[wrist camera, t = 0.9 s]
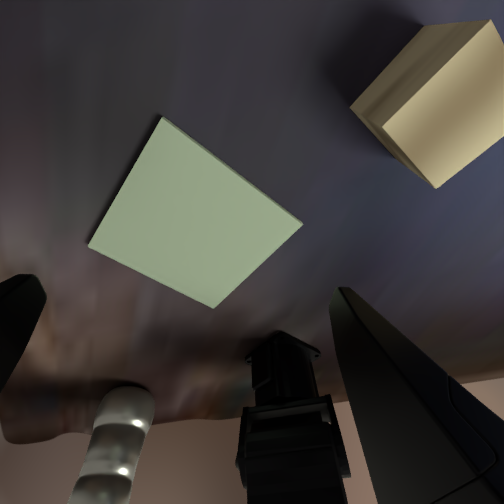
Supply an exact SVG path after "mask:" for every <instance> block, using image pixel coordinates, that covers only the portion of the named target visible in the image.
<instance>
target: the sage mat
mask: <svg viewBox="0 0 504 504" xmlns="http://www.w3.org/2000/svg"><path fill="white" fill-rule="evenodd" d="M302 225H303V224H302V222H301V221H300V220H299V219H297V218H296V217H295V216H293V215H292V214H291V213H289V212H288V211H287V210H285V209H284V208H283V207H282V206H280V205H279V204H278V203H276V202H275V201H274V200H272V199H271V198H270V197H268V196H267V195H266V194H265V193H263V192H262V191H261V190H259V189H258V188H257V187H255V186H254V185H253V184H251V183H250V182H249V181H247V180H246V179H245V178H244V177H242V176H241V175H240V174H238V173H237V172H236V171H234V170H233V169H232V168H230V167H229V166H228V165H227V164H225V163H224V162H223V161H221V160H220V159H219V158H217V157H216V156H215V155H213V154H212V153H211V152H210V151H208V150H207V149H206V148H204V147H203V146H202V145H200V144H199V143H198V142H196V141H195V140H194V139H192V138H191V137H190V136H189V135H187V134H186V133H185V132H183V131H182V130H181V129H179V128H178V127H177V126H175V125H174V124H173V123H172V122H170V121H169V120H168V119H166V118H165V117H164V116H163V117H162V118H161V120H160V122H159V123H158V125H157V127H156V128H155V130H154V132H153V134H152V135H151V137H150V139H149V141H148V142H147V144H146V146H145V148H144V149H143V151H142V153H141V155H140V156H139V158H138V160H137V161H136V163H135V165H134V167H133V168H132V170H131V172H130V174H129V175H128V177H127V179H126V181H125V182H124V184H123V186H122V188H121V189H120V191H119V193H118V194H117V196H116V198H115V200H114V201H113V203H112V205H111V207H110V208H109V210H108V212H107V214H106V215H105V217H104V219H103V220H102V222H101V224H100V226H99V227H98V229H97V231H96V233H95V234H94V236H93V238H92V240H91V241H90V243H89V245H88V247H89V248H91V249H93V250H96V251H98V252H100V253H102V254H104V255H106V256H108V257H110V258H112V259H114V260H116V261H118V262H120V263H122V264H124V265H126V266H128V267H130V268H132V269H134V270H136V271H138V272H140V273H142V274H144V275H146V276H148V277H150V278H152V279H154V280H156V281H158V282H160V283H162V284H164V285H166V286H168V287H170V288H172V289H174V290H176V291H178V292H180V293H182V294H185V295H187V296H189V297H191V298H193V299H195V300H197V301H199V302H201V303H203V304H205V305H207V306H209V307H211V308H213V309H214V308H215V307H216V306H217V305H218V304H219V303H220V302H221V301H222V300H223V299H225V298H226V297H227V296H228V295H229V294H230V293H231V292H232V291H233V290H234V289H235V288H236V287H237V286H238V285H239V284H240V283H241V282H243V281H244V280H245V279H246V278H247V277H248V276H249V275H250V274H251V273H252V272H253V271H254V270H255V269H256V268H257V267H258V266H260V265H261V264H262V263H263V262H264V261H265V260H266V259H267V258H268V257H269V256H270V255H271V254H272V253H273V252H274V251H275V250H276V249H278V248H279V247H280V246H281V245H282V244H283V243H284V242H285V241H286V240H287V239H288V238H289V237H290V236H291V235H292V234H293V233H295V232H296V231H297V230H298V229H299V228H300V227H301V226H302Z"/></svg>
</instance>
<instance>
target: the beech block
mask: <svg viewBox="0 0 504 504" xmlns="http://www.w3.org/2000/svg"><path fill="white" fill-rule="evenodd" d="M349 108H350V109H351V110H352V111H353V112H354V113H355V114H356V115H357V116H358V118H359V119H360V120H361V121H362V122H363V123H364V124H365V125H366V126H367V128H368V129H369V130H370V131H371V132H372V133H373V134H374V135H375V136H376V138H377V139H378V140H379V141H380V142H381V143H382V144H383V145H384V146H385V148H386V149H387V150H388V151H389V152H390V153H391V154H392V155H393V156H394V158H395V159H397V160H398V161H399V162H401V163H402V164H403V165H405V166H406V167H407V168H409V169H410V170H411V171H413V172H414V173H415V174H417V175H418V176H419V177H421V178H422V179H423V180H425V181H426V182H427V183H429V184H430V185H431V186H433V187H434V188H435V189H437V188H438V187H439V186H441V185H442V184H443V183H444V182H446V181H447V180H448V179H450V178H451V177H452V176H453V175H455V174H456V173H457V172H458V171H460V170H461V169H462V168H464V167H465V166H466V165H467V164H469V163H470V162H471V161H472V160H474V159H475V158H476V157H478V156H479V155H480V154H481V153H483V152H484V151H485V150H486V149H488V148H489V147H490V146H492V145H493V144H494V143H495V142H497V141H498V140H499V139H501V138H502V137H503V136H504V44H503V42H502V40H501V38H500V36H499V34H498V32H497V30H496V28H495V26H494V24H493V23H492V21H491V20H480V21H470V22H459V23H449V24H438V25H427V26H423V28H422V29H421V30H420V31H419V32H418V33H417V34H416V35H415V36H414V37H413V38H412V40H411V41H410V42H409V43H408V44H407V45H406V46H405V47H404V48H403V49H402V50H401V52H400V53H399V54H398V55H397V56H396V57H395V58H394V59H393V60H392V61H391V62H390V64H389V65H388V66H387V67H386V68H385V69H384V70H383V71H382V72H381V73H380V74H379V76H378V77H377V78H376V79H375V80H374V81H373V82H372V83H371V84H370V85H369V86H368V88H367V89H366V90H365V91H364V92H363V93H362V94H361V95H360V96H359V97H358V99H357V100H356V101H355V102H354V103H353V104H352V105H351V106H350V107H349Z"/></svg>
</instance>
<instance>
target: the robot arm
mask: <svg viewBox="0 0 504 504" xmlns="http://www.w3.org/2000/svg"><path fill="white" fill-rule="evenodd" d="M46 300H47V295H46V292H45V290H44V288H43V286H42V284H41V282H40V280H39V278H38V277H37V276H36V275H33V274H18V275H15V276H13V277H11V278H9V279H7V280H5V281H3V282H1V283H0V393H1V391H2V389H3V388H4V386H5V384H6V382H7V381H8V379H9V377H10V375H11V374H12V372H13V370H14V368H15V367H16V365H17V363H18V361H19V360H20V358H21V356H22V354H23V352H24V350H25V348H26V346H27V344H28V342H29V340H30V338H31V335H32V333H33V331H34V329H35V326H36V324H37V322H38V319H39V317H40V315H41V312H42V310H43V308H44V306H45V303H46ZM329 314H330V320H331V326H332V332H333V339H334V345H335V351H336V356H337V360H338V364H339V367H340V371H341V374H342V378H343V381H344V385H345V388H346V392H347V396H348V399H349V402H350V406H351V410H352V413H353V416H354V420H355V424H356V427H357V431H358V434H359V438H360V442H361V445H362V449H363V452H364V456H365V459H366V463H367V467H368V470H369V474H370V477H371V481H372V484H373V488H374V491H375V495H376V498H377V502H378V504H504V420H502V419H501V418H500V417H499V416H497V415H496V414H495V413H494V412H492V411H491V410H490V409H488V408H487V407H486V406H485V405H484V404H483V403H481V402H480V401H479V400H478V399H476V397H474V396H473V395H472V394H471V393H470V392H468V391H467V390H466V389H465V388H464V387H462V385H460V384H459V383H458V382H457V381H456V380H455V379H454V378H452V377H451V376H448V374H447V372H445V371H444V370H443V369H442V368H441V367H440V366H439V365H438V364H436V363H435V362H434V361H433V360H432V359H431V358H430V357H428V356H427V355H426V354H425V353H424V352H423V351H422V350H420V349H419V348H418V347H417V346H416V345H415V344H414V343H412V342H411V341H410V340H409V339H408V338H407V337H406V336H405V335H403V334H402V333H401V332H400V331H399V330H398V329H397V328H395V327H394V326H393V325H392V324H391V323H390V322H389V321H387V320H386V319H385V318H384V317H383V316H382V315H381V314H380V313H378V312H377V311H376V310H375V309H374V308H373V307H372V306H370V305H369V304H368V303H367V302H366V301H365V300H364V299H362V298H361V297H360V296H359V295H358V294H357V293H356V292H355V291H353V290H352V289H351V288H349V287H337V288H336V289H335V291H334V293H333V296H332V299H331V302H330V305H329ZM320 357H321V353H320V351H319V350H317V349H315V348H313V347H311V346H309V345H307V344H305V343H303V342H301V341H299V340H297V339H296V338H294V337H292V336H290V335H288V334H286V333H284V332H280V333H278V334H276V335H275V336H274V337H272V338H271V339H269V340H268V341H267V342H265V343H264V344H263V345H261V346H260V347H259V348H257V349H256V350H255V351H253V352H252V353H251V354H249V355H248V356H246V357H245V363H246V364H248V365H251V366H252V388H253V391H255V403H256V406H255V407H249V406H248V407H243V414H242V416H241V424H240V434H239V443H238V452H237V456H236V462H235V463H236V467H237V468H238V470H239V471H240V476H241V481H242V484H243V487H244V488H245V489H247V504H348V502H347V497H346V492H345V488H344V484H343V479H342V478H350V477H351V473H350V468H349V464H348V460H347V455H346V451H345V447H344V443H343V439H342V436H341V432H340V428H339V425H338V421H337V417H336V414H335V410H334V406H333V403H332V399H331V395H330V394H327V395H325V396H321V397H319V394H318V389H317V385H316V380H315V376H314V371H313V367H312V362H313V361H315V360H316V359H318V358H320ZM328 422H330V423H331V424H329V423H328Z"/></svg>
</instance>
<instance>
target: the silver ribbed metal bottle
mask: <svg viewBox="0 0 504 504" xmlns="http://www.w3.org/2000/svg"><path fill="white" fill-rule="evenodd" d="M154 408H155V402H154V399H153V397H152V395H151V393H150V392H148V391H147V390H145V389H142V388H138V387H133V386H121V387H116V388H114V389H112V390H111V391H110V392H108V393H107V394H106V395H105V396H104V398H103V399H102V401H101V403H100V405H99V406H98V409H97V413H96V417H95V421H94V426H93V433H92V436H91V440H90V444H89V447H88V450H87V454H86V457H85V461H84V464H83V466H82V469H81V472H80V474H79V479H78V480H77V482H76V484H75V486H74V488H73V491H72V493H71V496H70V498H69V501H68V503H67V504H129V500H130V495H131V490H132V481H133V480H134V475H135V470H136V466H137V463H138V460H139V456H140V453H141V450H142V447H143V443H144V440H145V436H146V435H147V433H148V430H149V428H150V426H151V423H152V420H153V417H154Z"/></svg>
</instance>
